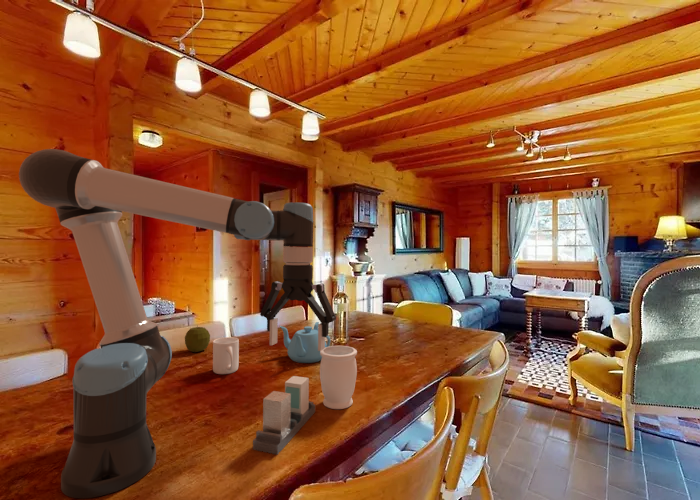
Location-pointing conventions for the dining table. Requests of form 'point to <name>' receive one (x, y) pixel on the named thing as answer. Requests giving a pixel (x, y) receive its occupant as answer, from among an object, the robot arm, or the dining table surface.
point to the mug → (225, 355)
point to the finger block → (298, 393)
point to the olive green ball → (197, 339)
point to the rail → (277, 439)
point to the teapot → (304, 344)
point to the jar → (338, 376)
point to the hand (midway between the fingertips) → (296, 346)
